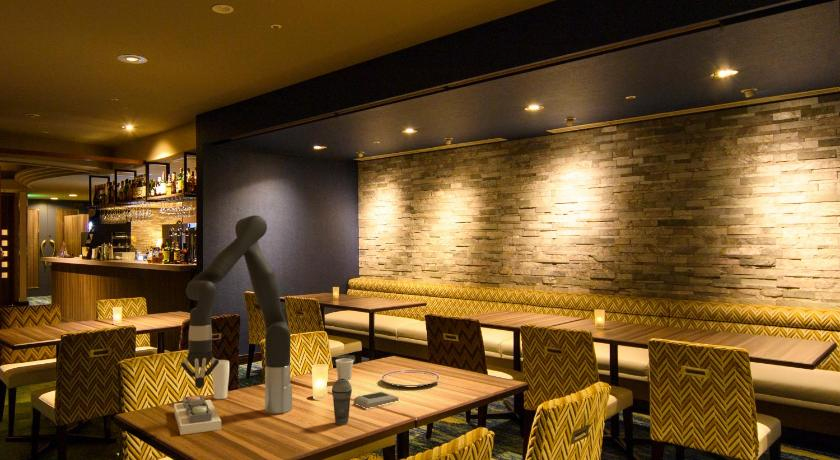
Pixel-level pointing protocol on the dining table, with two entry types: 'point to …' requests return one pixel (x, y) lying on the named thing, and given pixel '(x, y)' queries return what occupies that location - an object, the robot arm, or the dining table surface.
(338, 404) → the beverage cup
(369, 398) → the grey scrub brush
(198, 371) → the robot arm
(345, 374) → the dixie cup
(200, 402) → the slate button
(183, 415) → the button console
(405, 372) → the dinner plate
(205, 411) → the sage button
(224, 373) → the white tumbler
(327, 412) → the dining table surface
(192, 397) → the terracotta button
